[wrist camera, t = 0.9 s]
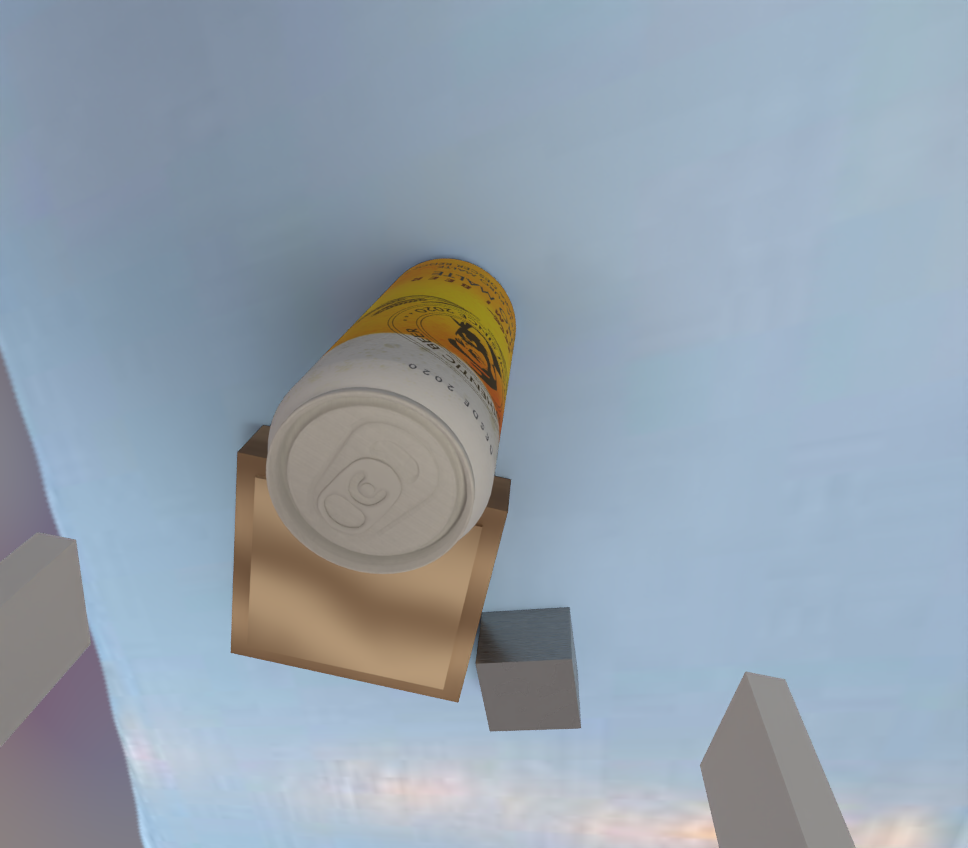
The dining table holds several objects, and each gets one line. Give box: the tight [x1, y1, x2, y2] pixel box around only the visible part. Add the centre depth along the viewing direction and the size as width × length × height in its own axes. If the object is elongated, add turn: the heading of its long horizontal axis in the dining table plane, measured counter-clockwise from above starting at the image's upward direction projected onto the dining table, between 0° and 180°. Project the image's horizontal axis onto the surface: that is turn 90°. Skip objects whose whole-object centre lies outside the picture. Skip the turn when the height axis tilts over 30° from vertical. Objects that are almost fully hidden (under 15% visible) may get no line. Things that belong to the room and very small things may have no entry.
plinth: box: [231, 425, 511, 702], centre depth 34 cm, size 13×13×3 cm
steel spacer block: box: [476, 607, 581, 731], centre depth 36 cm, size 5×5×4 cm
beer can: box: [266, 258, 516, 574], centre depth 23 cm, size 6×6×15 cm
